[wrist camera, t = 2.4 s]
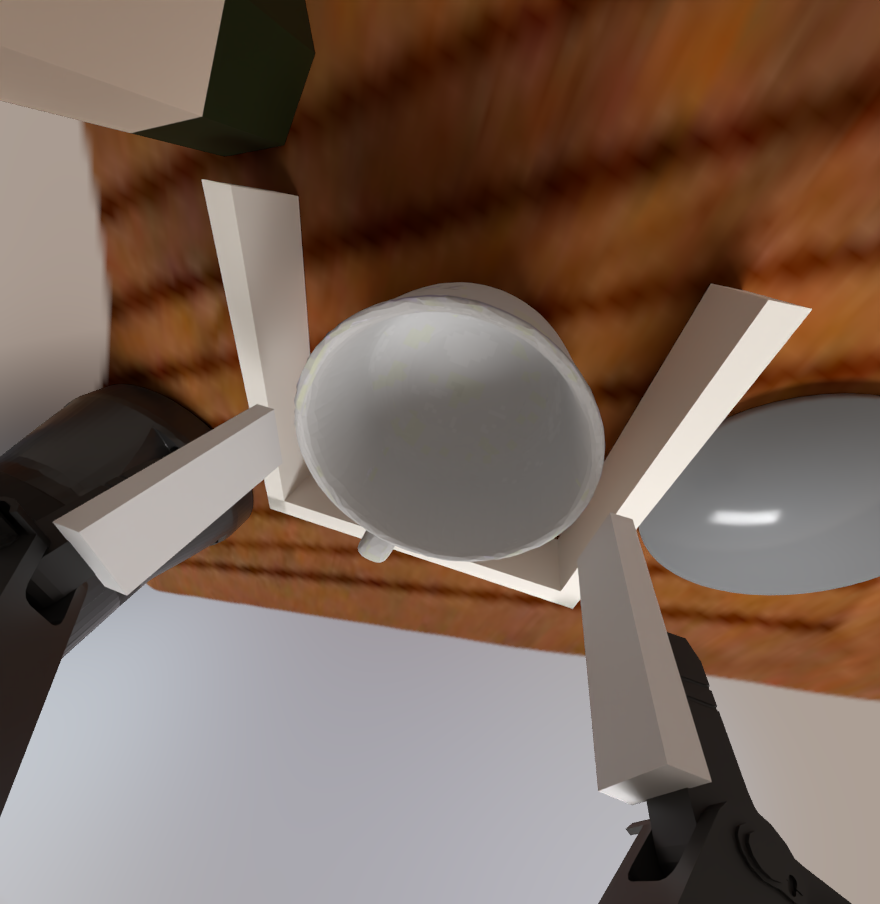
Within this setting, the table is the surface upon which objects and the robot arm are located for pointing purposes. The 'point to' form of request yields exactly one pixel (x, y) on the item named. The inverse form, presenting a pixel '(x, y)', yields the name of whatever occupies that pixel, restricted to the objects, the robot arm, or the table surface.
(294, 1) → the wine bottle
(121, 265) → the table surface
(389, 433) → the teacup
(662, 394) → the white u-shaped frame
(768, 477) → the grey flat disc
